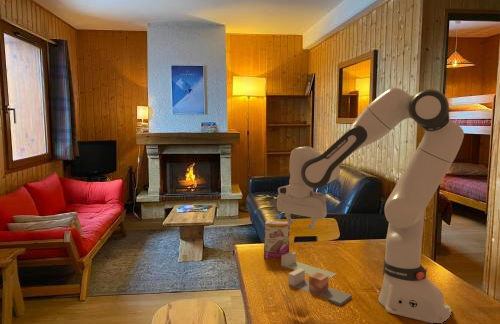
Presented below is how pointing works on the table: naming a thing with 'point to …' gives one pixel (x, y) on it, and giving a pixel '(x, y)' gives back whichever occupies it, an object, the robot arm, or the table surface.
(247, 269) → the table surface
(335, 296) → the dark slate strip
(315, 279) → the terracotta block
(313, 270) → the sage green strip
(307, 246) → the table surface
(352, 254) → the table surface
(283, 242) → the candy bar box
